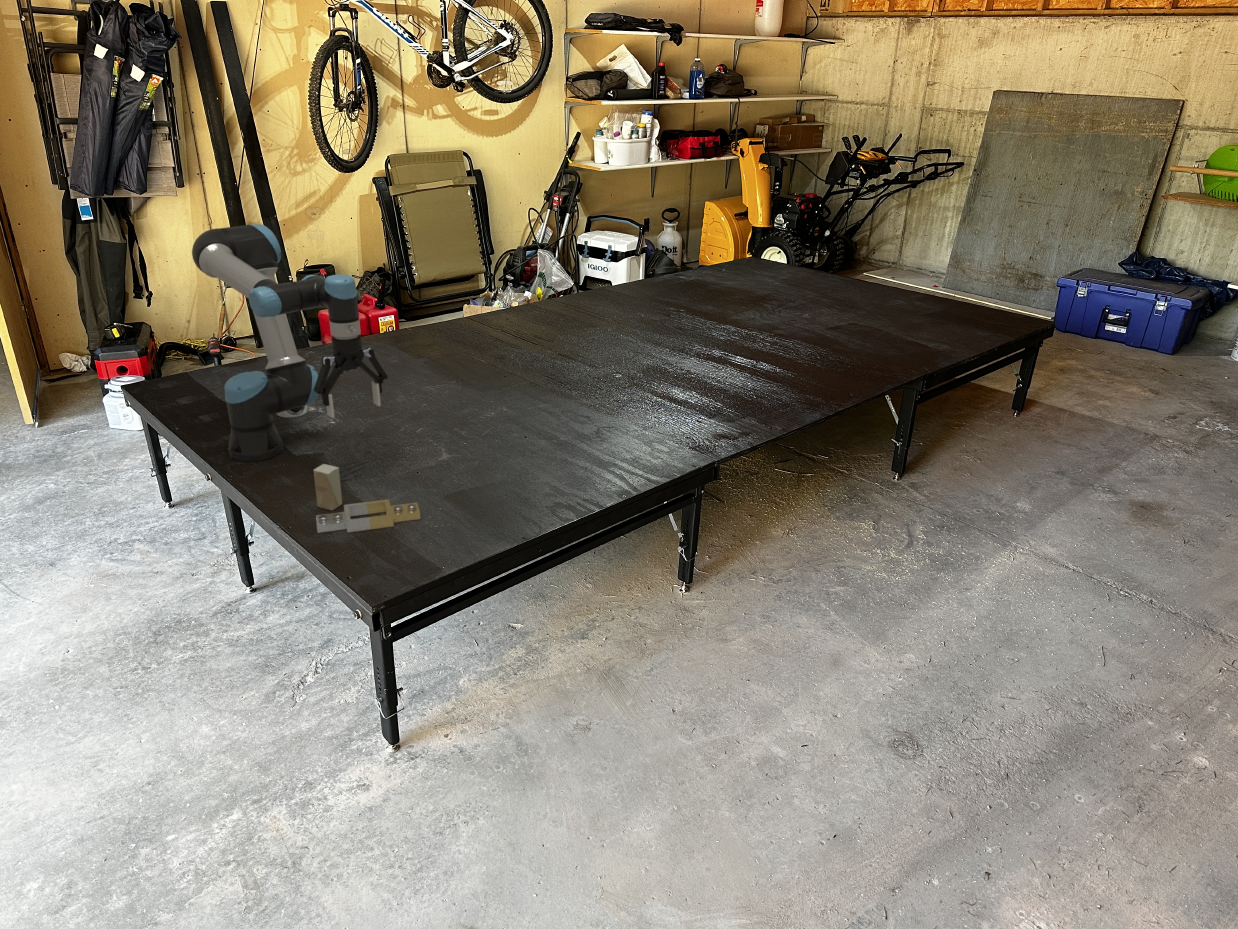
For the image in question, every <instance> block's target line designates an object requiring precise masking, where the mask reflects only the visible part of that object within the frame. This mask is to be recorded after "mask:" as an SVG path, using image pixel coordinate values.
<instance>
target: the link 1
mask: <svg viewBox="0 0 1238 929" xmlns="http://www.w3.org/2000/svg"><path fill="white" fill-rule="evenodd" d="M367 502H368V501H364V502H355V503H349V504H348V503H347V504H343V511H340V512H332V513H323V514H316V515H315V522H316V532H317V533H318V534H321V533H329V532H336V531H341V530H343V531H345V530H346V533H350V534H351V533H355V532H362V531H364V532H365V531H370V530H372V529H371V527H370V518H369V517H370V516H369V517H367V515H369V514H368V510H367ZM363 515H366V517H360V518H351V517H357V516H363Z"/></svg>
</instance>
